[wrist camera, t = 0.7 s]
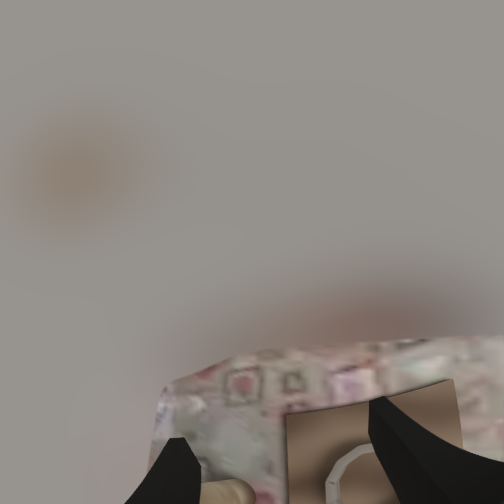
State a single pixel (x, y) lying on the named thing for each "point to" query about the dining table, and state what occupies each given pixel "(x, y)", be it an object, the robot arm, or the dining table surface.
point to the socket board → (350, 432)
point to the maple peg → (227, 492)
